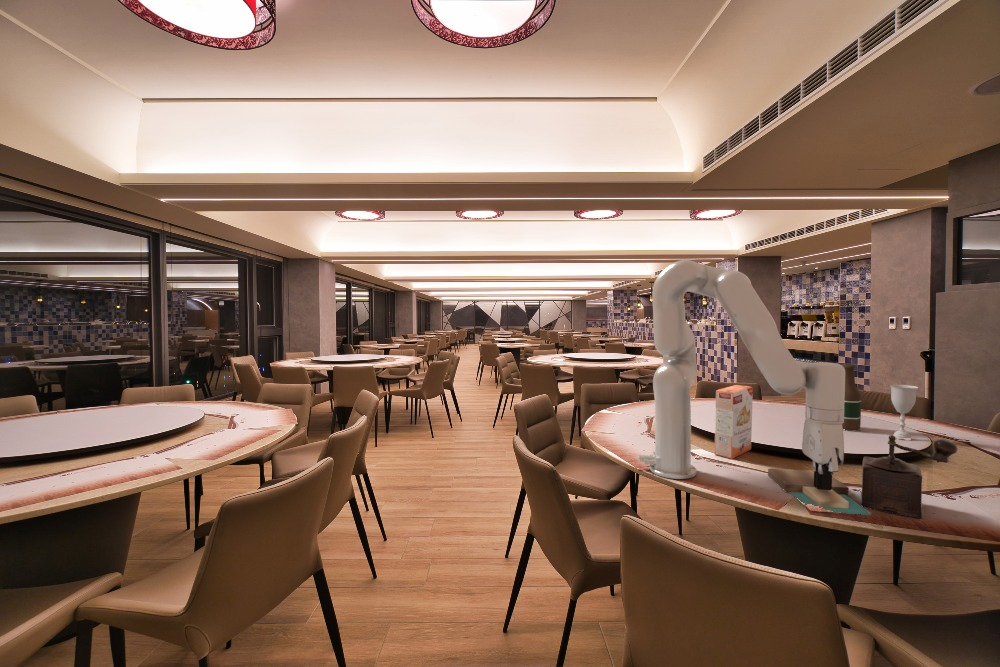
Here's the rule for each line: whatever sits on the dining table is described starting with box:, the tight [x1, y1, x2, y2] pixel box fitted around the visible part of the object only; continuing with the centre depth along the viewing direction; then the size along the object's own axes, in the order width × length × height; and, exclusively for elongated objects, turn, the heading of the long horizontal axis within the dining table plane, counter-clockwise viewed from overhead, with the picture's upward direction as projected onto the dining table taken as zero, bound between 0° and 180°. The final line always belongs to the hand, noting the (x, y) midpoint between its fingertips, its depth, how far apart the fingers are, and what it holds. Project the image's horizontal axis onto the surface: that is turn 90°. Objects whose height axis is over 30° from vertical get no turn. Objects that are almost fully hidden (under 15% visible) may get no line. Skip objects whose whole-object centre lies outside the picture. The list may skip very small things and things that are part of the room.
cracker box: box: [714, 384, 754, 460], centre depth 141 cm, size 14×6×21 cm, turn 129°
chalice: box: [889, 384, 919, 438], centre depth 151 cm, size 7×7×18 cm
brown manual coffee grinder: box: [860, 434, 958, 519], centre depth 101 cm, size 16×11×18 cm
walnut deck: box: [767, 468, 850, 497], centre depth 115 cm, size 14×11×2 cm
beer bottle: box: [842, 363, 862, 431], centre depth 164 cm, size 8×8×24 cm
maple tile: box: [803, 486, 849, 508], centre depth 106 cm, size 6×8×2 cm
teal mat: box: [790, 492, 872, 516], centre depth 105 cm, size 12×10×1 cm
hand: (822, 488), depth 107 cm, fingers closed
